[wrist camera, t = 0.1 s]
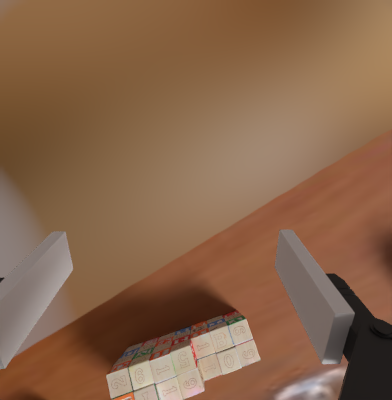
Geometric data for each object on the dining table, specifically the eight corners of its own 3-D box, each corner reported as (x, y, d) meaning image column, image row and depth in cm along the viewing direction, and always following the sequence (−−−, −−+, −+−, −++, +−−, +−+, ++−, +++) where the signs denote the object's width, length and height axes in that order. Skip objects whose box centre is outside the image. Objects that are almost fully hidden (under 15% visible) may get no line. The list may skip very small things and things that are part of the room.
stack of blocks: (237, 308, 49) (251, 322, 37) (248, 343, 48) (267, 369, 36) (126, 347, 47) (104, 375, 35) (135, 384, 46) (115, 427, 34)
